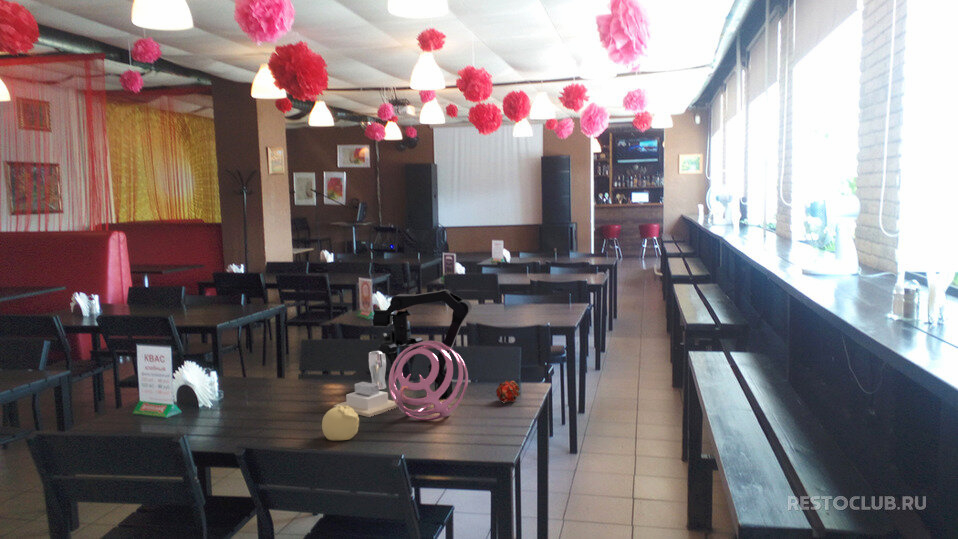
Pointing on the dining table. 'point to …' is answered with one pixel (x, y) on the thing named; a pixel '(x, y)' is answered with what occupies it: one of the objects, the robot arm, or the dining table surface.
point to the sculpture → (340, 423)
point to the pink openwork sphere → (427, 382)
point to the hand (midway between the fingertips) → (402, 366)
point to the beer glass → (377, 368)
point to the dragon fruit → (508, 391)
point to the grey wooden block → (366, 389)
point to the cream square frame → (369, 403)
